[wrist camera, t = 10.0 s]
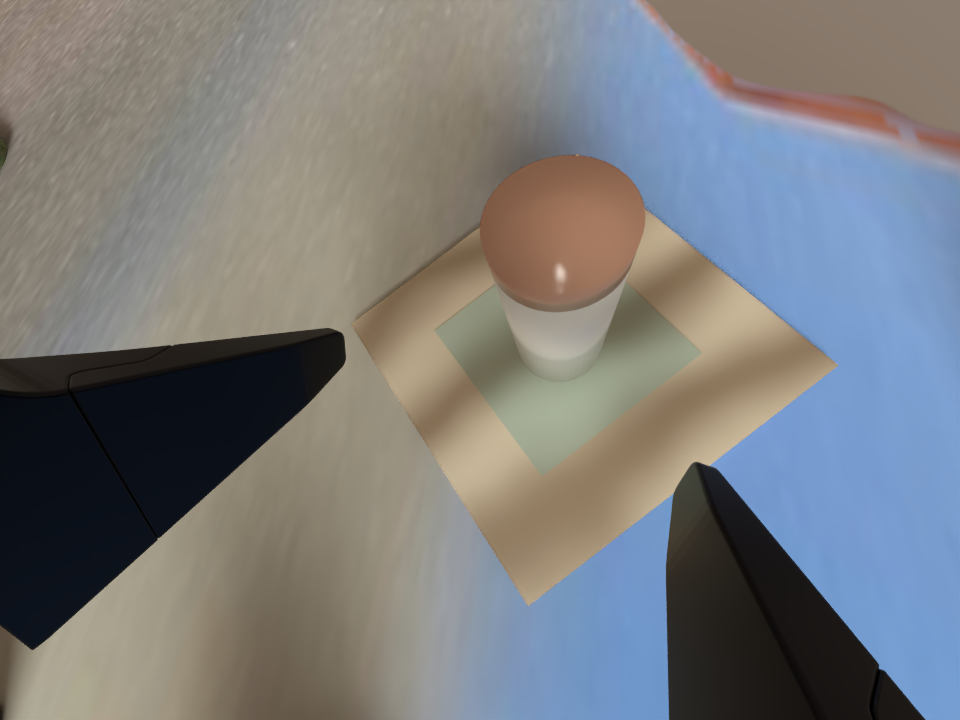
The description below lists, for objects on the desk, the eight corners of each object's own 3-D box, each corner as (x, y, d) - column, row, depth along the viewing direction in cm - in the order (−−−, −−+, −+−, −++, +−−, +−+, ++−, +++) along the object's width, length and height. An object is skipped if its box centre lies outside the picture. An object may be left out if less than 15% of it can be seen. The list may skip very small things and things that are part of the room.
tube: (606, 378, 18) (660, 280, 8) (520, 385, 19) (482, 303, 9) (595, 300, 19) (630, 141, 10) (515, 309, 20) (477, 172, 11)
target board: (830, 368, 17) (840, 364, 16) (528, 601, 16) (527, 606, 16) (576, 159, 23) (577, 152, 22) (355, 327, 23) (349, 323, 22)
